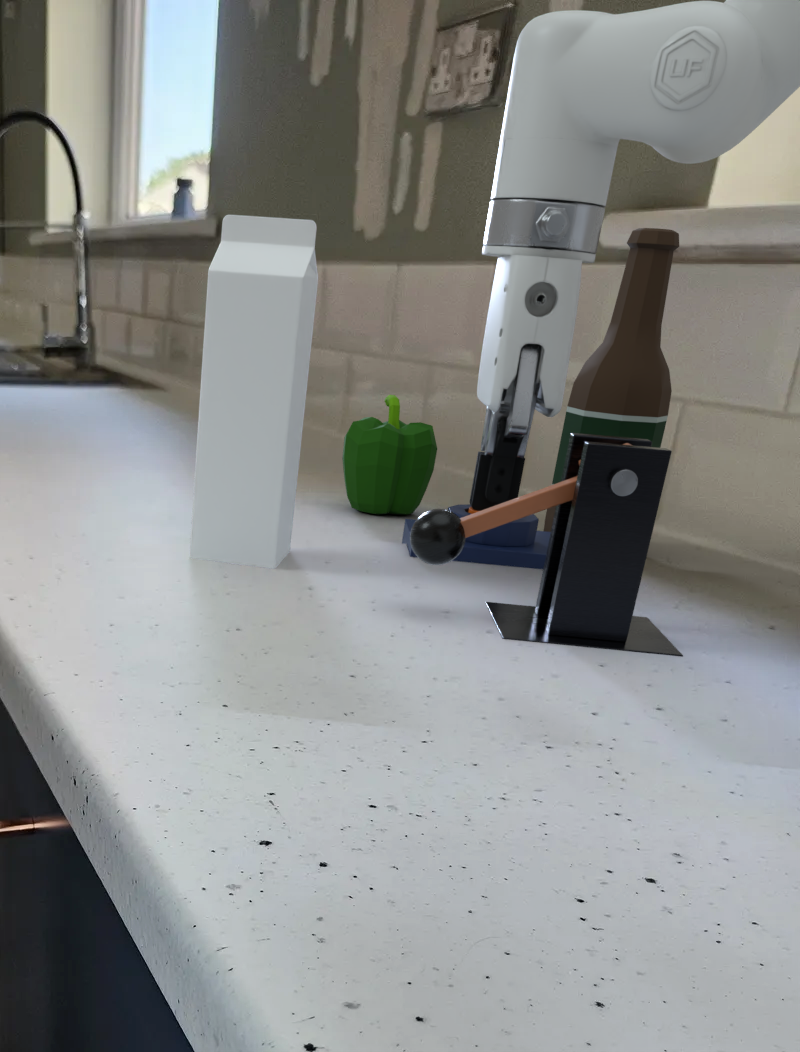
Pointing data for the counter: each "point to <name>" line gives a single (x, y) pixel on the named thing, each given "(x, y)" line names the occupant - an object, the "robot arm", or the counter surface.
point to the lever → (479, 522)
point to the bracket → (597, 552)
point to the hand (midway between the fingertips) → (491, 509)
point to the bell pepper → (388, 463)
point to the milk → (253, 389)
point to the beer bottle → (627, 357)
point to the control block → (499, 542)
